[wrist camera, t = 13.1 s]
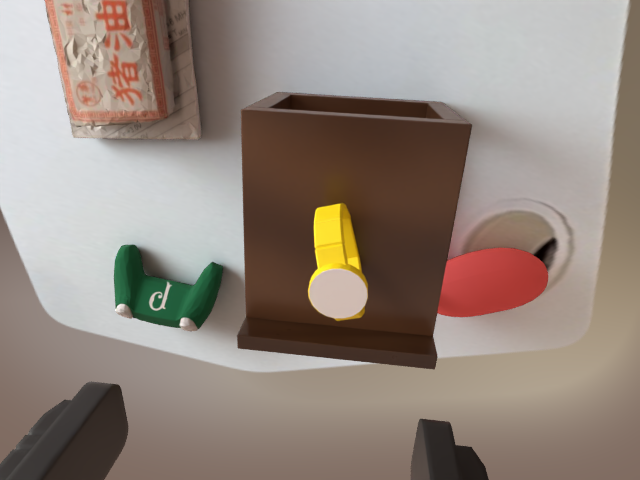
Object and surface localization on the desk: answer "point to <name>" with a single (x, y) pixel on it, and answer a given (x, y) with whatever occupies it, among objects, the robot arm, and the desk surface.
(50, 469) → the robot arm
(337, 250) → the watch
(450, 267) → the red kidney bean
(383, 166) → the box
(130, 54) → the packaged product
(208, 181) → the desk surface
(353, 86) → the desk surface
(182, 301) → the gaming controller
